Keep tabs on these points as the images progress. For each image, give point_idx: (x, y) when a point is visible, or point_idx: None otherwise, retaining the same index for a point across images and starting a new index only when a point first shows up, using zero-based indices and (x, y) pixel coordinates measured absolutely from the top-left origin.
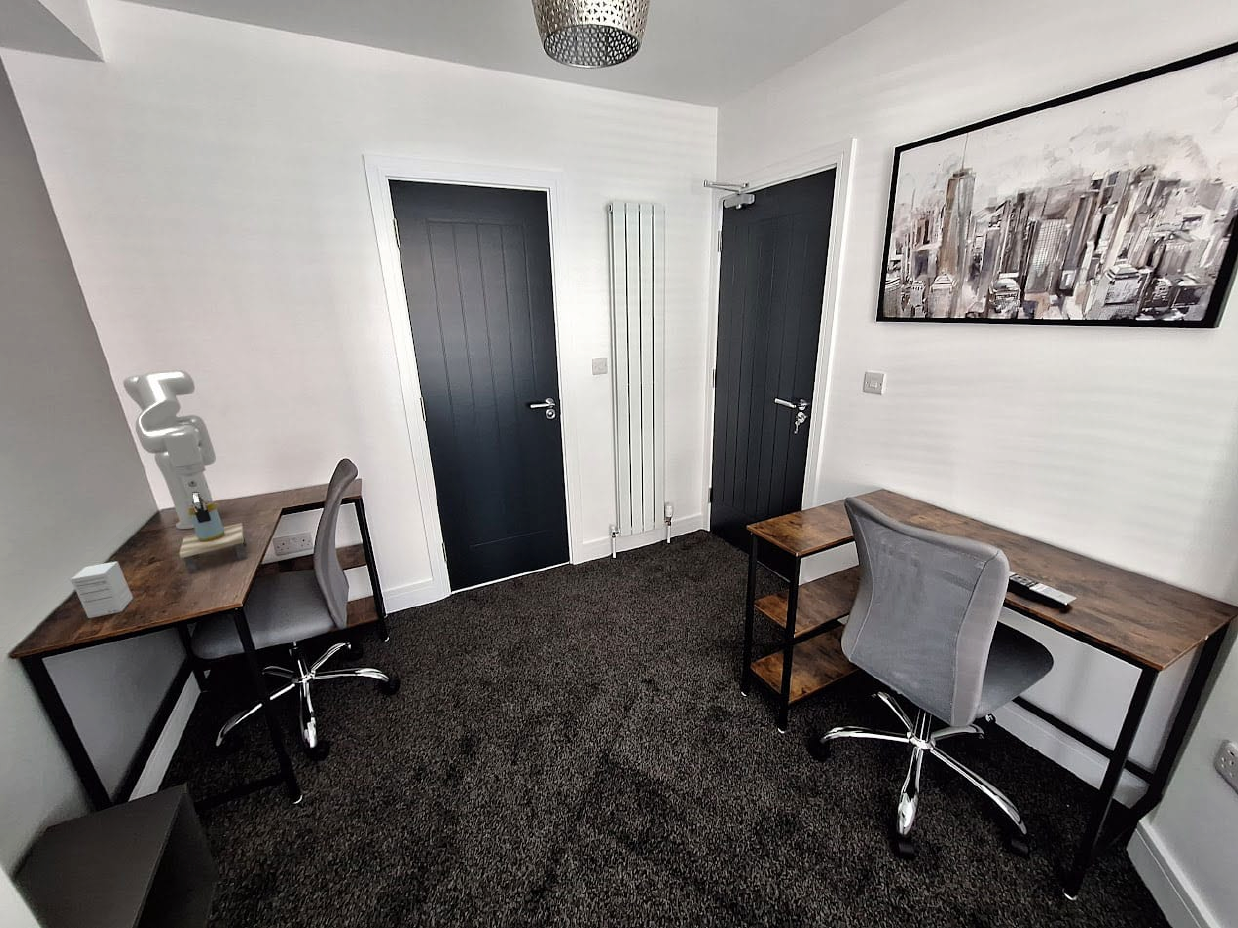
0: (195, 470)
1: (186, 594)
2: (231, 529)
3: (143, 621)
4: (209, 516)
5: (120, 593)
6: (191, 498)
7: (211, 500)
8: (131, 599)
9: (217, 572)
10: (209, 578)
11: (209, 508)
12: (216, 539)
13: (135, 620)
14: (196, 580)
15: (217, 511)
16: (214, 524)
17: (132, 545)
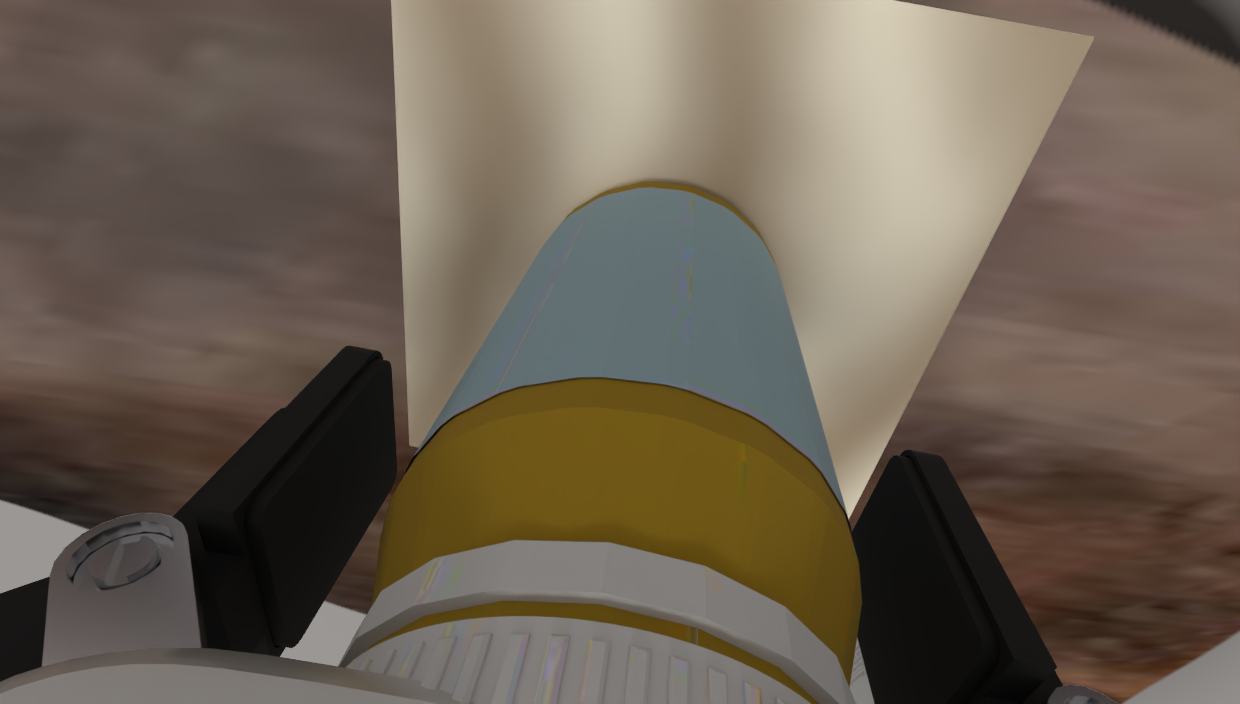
0: None
1: (1144, 457)
2: (565, 84)
3: (1232, 612)
4: (966, 514)
5: None
6: None
7: (644, 622)
8: None
9: (993, 276)
10: (1045, 331)
11: (840, 570)
12: None
13: (1169, 624)
14: (978, 389)
15: (694, 343)
16: (799, 346)
17: (62, 502)
